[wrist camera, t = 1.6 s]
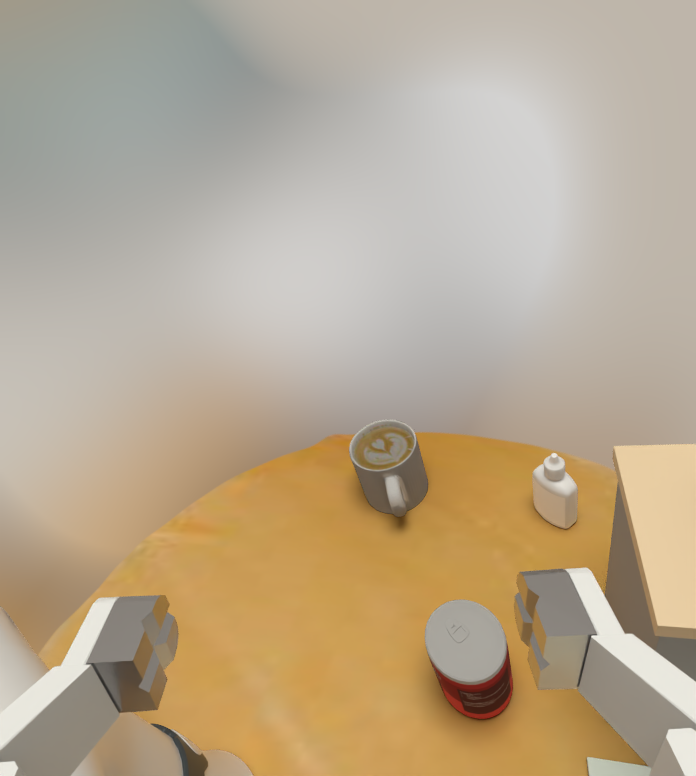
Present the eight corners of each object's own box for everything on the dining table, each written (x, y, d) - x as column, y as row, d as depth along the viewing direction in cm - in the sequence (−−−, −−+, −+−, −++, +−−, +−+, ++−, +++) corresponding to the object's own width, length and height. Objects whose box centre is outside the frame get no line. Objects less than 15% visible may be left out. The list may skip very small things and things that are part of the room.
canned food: (459, 631, 59) (446, 585, 53) (525, 668, 55) (520, 623, 48) (427, 692, 55) (408, 651, 49) (495, 738, 51) (485, 700, 44)
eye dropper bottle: (546, 534, 65) (544, 477, 58) (531, 500, 70) (527, 443, 62) (580, 527, 65) (582, 468, 58) (562, 493, 69) (562, 434, 62)
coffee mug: (367, 465, 83) (352, 423, 77) (427, 459, 80) (416, 415, 74) (361, 536, 73) (342, 494, 67) (429, 532, 70) (416, 488, 64)
